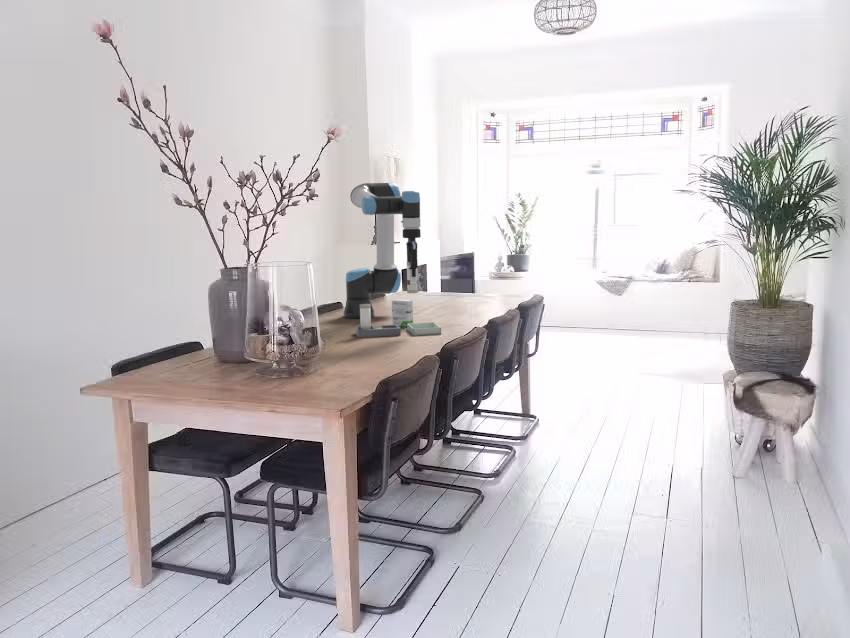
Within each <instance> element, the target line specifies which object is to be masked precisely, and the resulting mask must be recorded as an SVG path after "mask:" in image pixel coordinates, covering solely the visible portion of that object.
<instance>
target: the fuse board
mask: <svg viewBox="0 0 850 638" xmlns="http://www.w3.org/2000/svg"><path fill="white" fill-rule="evenodd" d="M354 332H355V335H356V337H357V338H374V337H375V338H377V337H378V338H379V337H393V336H394V337H396V336H397V337H398V336H401V332H402V331H401V326H398V325H397V324H395V325H393V324H380V325H379V324H378V325H376V324H375V325H371V329H361V325H358V326H354Z"/></svg>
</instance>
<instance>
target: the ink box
mask: <svg viewBox="0 0 850 638" xmlns="http://www.w3.org/2000/svg"><path fill="white" fill-rule="evenodd" d="M391 316H392V317H391V321H392V325H395V324H397V325H398V326H399V327H400V328H401V327H405V328H407V324H408V323H414V309H413V300H411V299H399V298H398V299H397V298H396V299H392V300H391Z"/></svg>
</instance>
